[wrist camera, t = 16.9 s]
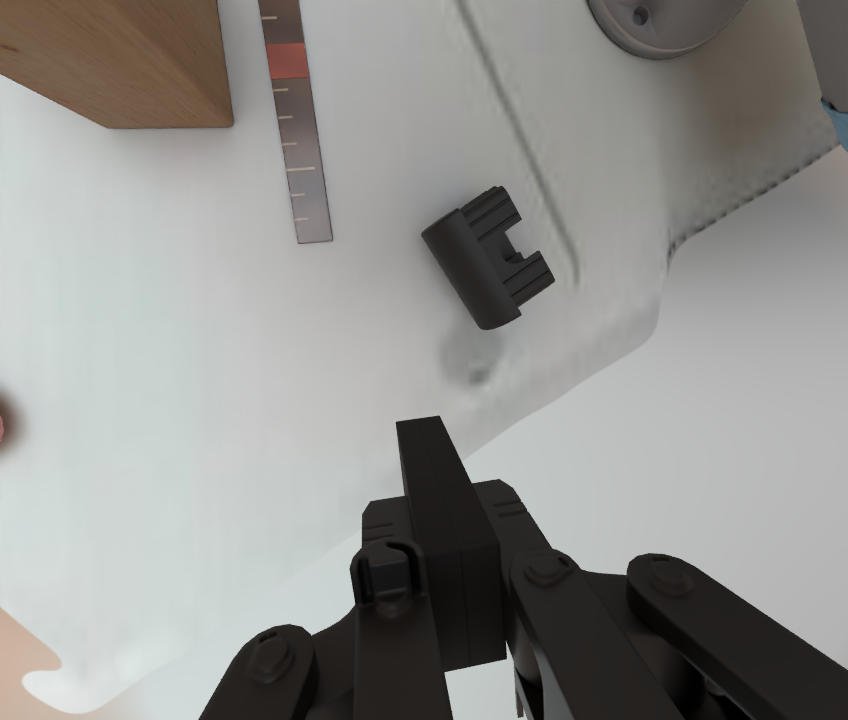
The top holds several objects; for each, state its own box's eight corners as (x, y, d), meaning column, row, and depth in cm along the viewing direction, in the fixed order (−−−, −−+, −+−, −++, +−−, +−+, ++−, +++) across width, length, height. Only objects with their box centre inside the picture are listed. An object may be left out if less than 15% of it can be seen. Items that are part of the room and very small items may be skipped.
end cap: (415, 235, 38) (425, 230, 31) (479, 191, 38) (502, 177, 31) (471, 324, 40) (491, 336, 34) (531, 283, 40) (563, 287, 34)
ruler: (333, 240, 37) (332, 240, 36) (299, 244, 37) (298, 243, 36) (294, -25, 32) (293, -30, 32) (255, -25, 32) (253, -29, 31)
